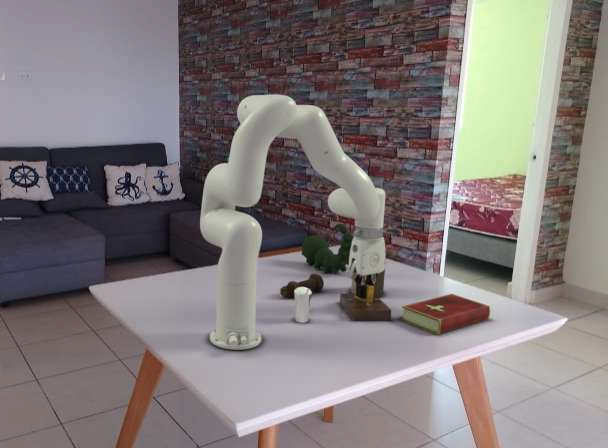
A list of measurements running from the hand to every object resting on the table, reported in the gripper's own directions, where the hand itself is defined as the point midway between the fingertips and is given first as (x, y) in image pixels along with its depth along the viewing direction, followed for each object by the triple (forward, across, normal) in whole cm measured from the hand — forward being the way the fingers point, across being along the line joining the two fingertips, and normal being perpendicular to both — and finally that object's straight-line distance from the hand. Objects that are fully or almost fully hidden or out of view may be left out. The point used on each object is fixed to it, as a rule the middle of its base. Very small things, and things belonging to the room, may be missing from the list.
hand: (363, 296), depth 158 cm
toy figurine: (+4, +19, +36) cm, 41 cm away
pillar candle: (+4, +13, +10) cm, 17 cm away
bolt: (+4, -6, +20) cm, 21 cm away
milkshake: (+4, -20, +2) cm, 21 cm away
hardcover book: (+4, +14, -17) cm, 22 cm away
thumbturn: (+1, 0, 0) cm, 1 cm away
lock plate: (+4, 0, -1) cm, 4 cm away
